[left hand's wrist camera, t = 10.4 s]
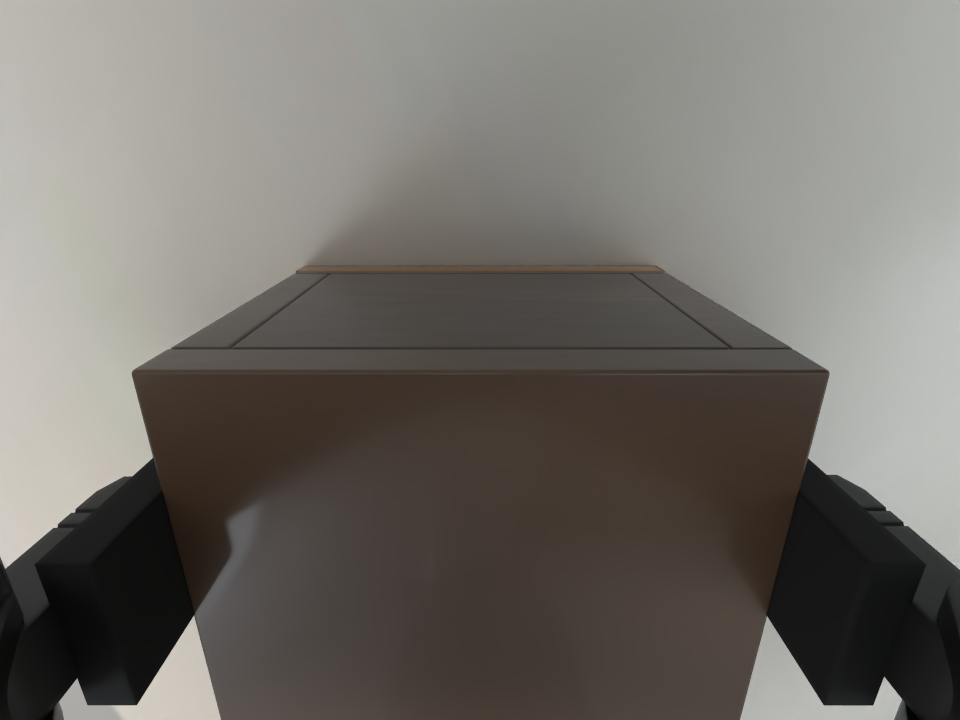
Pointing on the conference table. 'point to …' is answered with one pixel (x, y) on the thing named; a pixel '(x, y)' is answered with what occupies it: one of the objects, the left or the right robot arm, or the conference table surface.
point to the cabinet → (480, 493)
